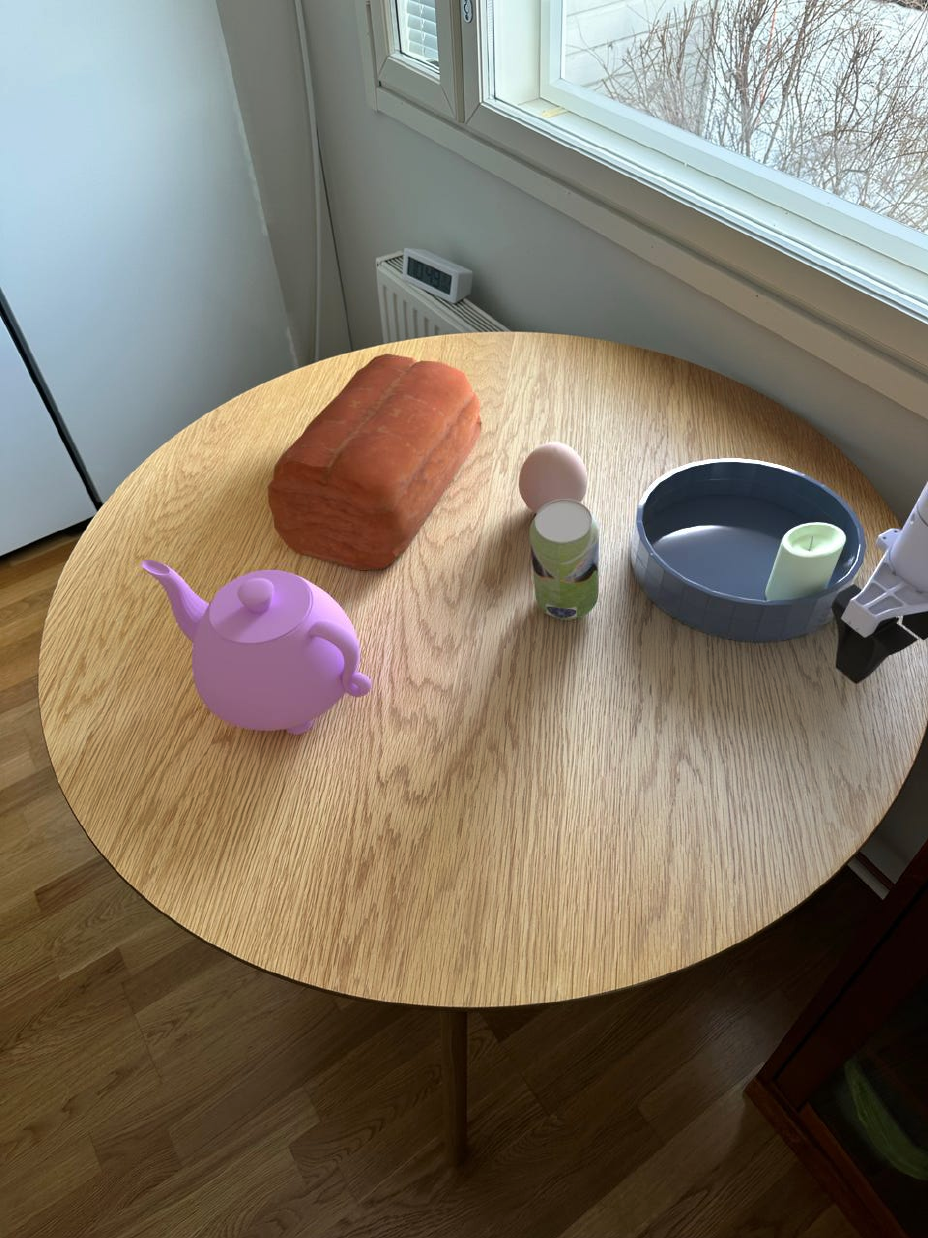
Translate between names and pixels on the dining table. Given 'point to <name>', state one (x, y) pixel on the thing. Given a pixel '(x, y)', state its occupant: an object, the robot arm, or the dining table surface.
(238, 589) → the teapot
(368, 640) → the dining table surface
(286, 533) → the bread
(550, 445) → the egg
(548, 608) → the beverage can
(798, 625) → the bowl
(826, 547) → the candle
